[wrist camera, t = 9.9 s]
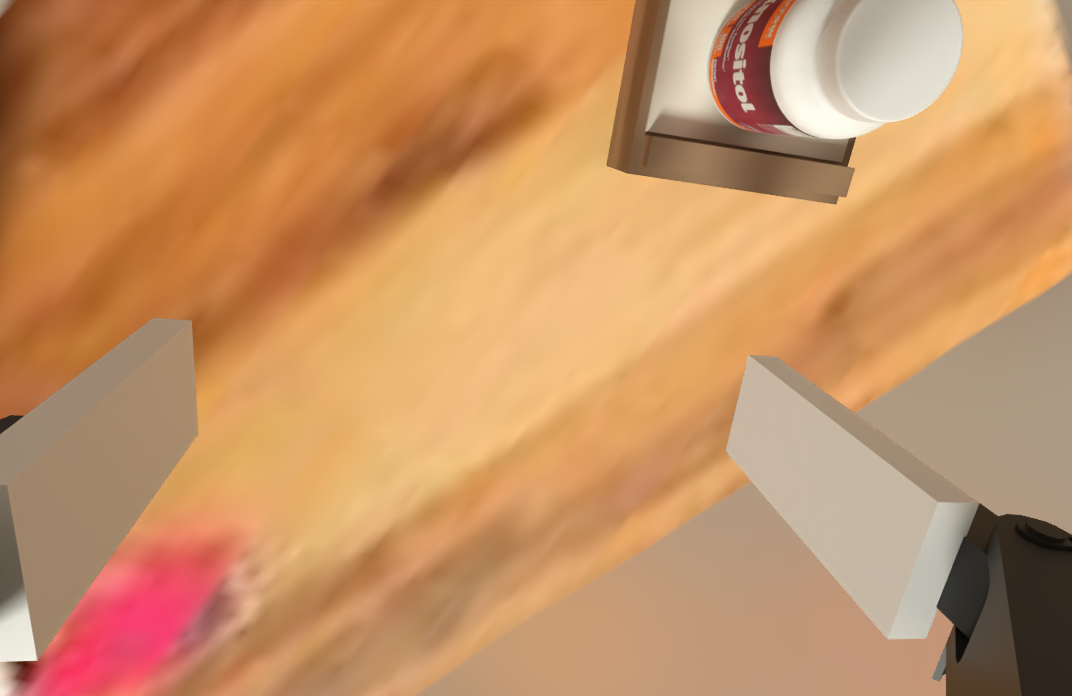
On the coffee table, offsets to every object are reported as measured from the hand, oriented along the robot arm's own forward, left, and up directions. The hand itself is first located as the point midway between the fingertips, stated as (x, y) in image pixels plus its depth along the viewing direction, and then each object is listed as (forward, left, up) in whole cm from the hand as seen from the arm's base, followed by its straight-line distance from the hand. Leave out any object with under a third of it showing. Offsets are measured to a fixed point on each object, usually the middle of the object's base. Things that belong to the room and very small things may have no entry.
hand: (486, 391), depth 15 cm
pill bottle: (+14, +10, -20) cm, 26 cm away
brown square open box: (+14, +10, -25) cm, 30 cm away
